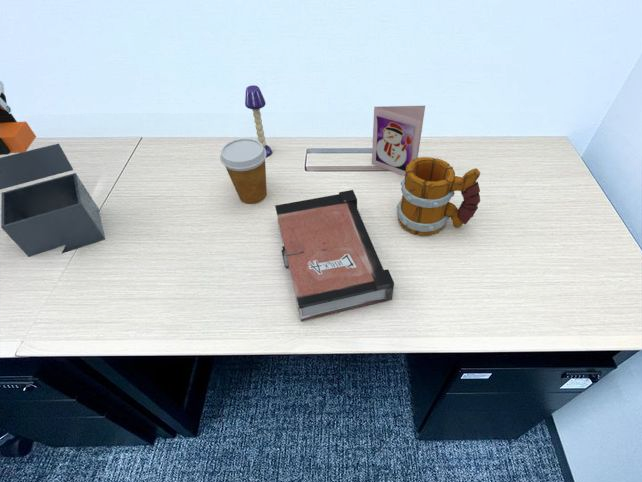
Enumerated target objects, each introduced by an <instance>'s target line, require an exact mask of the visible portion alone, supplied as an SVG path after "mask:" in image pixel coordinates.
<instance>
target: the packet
mask: <svg viewBox="0 0 642 482" xmlns="http://www.w3.org/2000/svg"><path fill="white" fill-rule="evenodd" d="M0 138H1V139H2V141H3V142H4V143H5V145H6V146H7V147H8V148H9V150H10V151H11V152H10V153H9V154H17V153H23V152H26V151H28V149H29V148H30V146H31V145H32V143H33V142H34V141H35V140H36V138H37V135H36V134H35V132H34V131H33V130H32V128H31V126H30V125H29V123H28V122H27V121H17V122H8V123H0Z"/></svg>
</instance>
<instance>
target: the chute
mask: <svg viewBox="0 0 642 482" xmlns="http://www.w3.org/2000/svg"><path fill="white" fill-rule="evenodd" d="M0 195H1V202H0V203H1V205H0V207H1V208H0V210H1V211H0V216H1V217H0V228H1V229H2V230H3V231H4V232H5V234H7V235H8V236H9V237H10V239H11V240H12V241H13V242H14V243H15V244H16V246H17V247H19V248H20V249H21V251H22V252H23V253H24V254H25V255H26V256H27V257H28V258H29V257H33V256H36V255H39V254H42V253H45V252H49V251H51V250H54V249H55V250H56V249H58V248H61V247H63V249H62V251H61V254H62V255H63V254H65V253H67V252H71V251H73V250H77V249H80V248H83V247H86V246H89V245H93V244H96V243H99V242H101V241H104V240H106V237H105V236H106V235H105V232H104V228H103V222H102V219H101V214H100V209H99V207H98V205H97V204H96V202H95V201H94V199H93V197H91V194H90V193H89V191H88V190H87V188H86V186H85V185H84V183H83V182H82V180H81V179H80V177H79V176H78V174H77V173H76V172H74V173H70V174H66V175H62V176H58V177H54V178H51V179H47V180H44V181H40V182H36V183H32V184H28V185H25V186H21V187H18V188H14V189H9V190H5V191H3V192H1V193H0Z"/></svg>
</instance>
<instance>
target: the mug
mask: <svg viewBox="0 0 642 482" xmlns="http://www.w3.org/2000/svg"><path fill="white" fill-rule="evenodd" d="M480 175H481V171H480V170H479V169H478V168H476V167H475V168H472V169H470V170H468V171H467V172H465V173H464V174H463V176H458V175H456V172H455V170H454V167H453V166H452V165H450V163H448V161H446V160H444V159H441V158H437V157H436V158H435V157H430V156H429V157H427V156H422V157H418V158H416V159H414V160H413V161H410V162H409V163H408V164H407V166H406V170H405V176H403V179H401V181H400V186H401V188H400V190H401V194H402V195H401V199H400V200H399V202H398V203H397V204H396V209H397V211H396V213H397V215H396V216H397V221H398V224H399V225H400V227H401V228H402V229H404V230H405V231H406V232H409V234H413V235H418V236H422V237H423V236H425V237H429V236H433V235H436V234H438V233H440V232H441V231H443V229H444V228H445V226H446V224H447V222H448V220H450V219H451V222H452V226H453V227H455V228H461V227H462V226H463V225H467V223H468V222H469V221H471V219H472V218H473V217H474V215H475V213H476V212H477V211H478V209H479V204H480V203H481V195H480V192H481V189H480V185H479V182H478V181H477V180H478V179H479V177H480ZM455 192H460V194H461V196H462V199H463V200H462V201H461V203H460V206H459V207H457V206H456V205H455V203H453V202H450V201H451V200H452V198H454V196H455Z"/></svg>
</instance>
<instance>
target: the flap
mask: <svg viewBox="0 0 642 482" xmlns="http://www.w3.org/2000/svg"><path fill="white" fill-rule="evenodd" d="M72 171H74V168H73V166H72V164H71V162H70V161H69V159H68V157H67V155H66V153H65V152H64V150H63V148H62V147H61V145H60V143H54V144H50V145H45V146H42V147H38V148H34V149H30V150H26V152H23V153H12V154H8V155H4V156H1V157H0V190H4V189H7V188H12V187H15V186H19V185H23V184H26V183H30V182H34V181H38V180H42V179H45V178H49V177H54V176H57V175H61V174H64V173H67V172H72Z"/></svg>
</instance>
